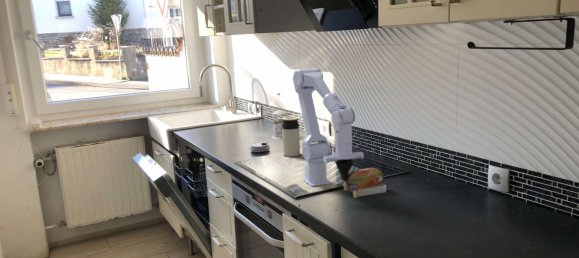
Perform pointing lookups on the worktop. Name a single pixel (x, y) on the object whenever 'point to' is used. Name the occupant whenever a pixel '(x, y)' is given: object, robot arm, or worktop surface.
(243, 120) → the worktop surface
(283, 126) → the travel mug
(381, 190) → the door track
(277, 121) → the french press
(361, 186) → the tin
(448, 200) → the worktop surface
